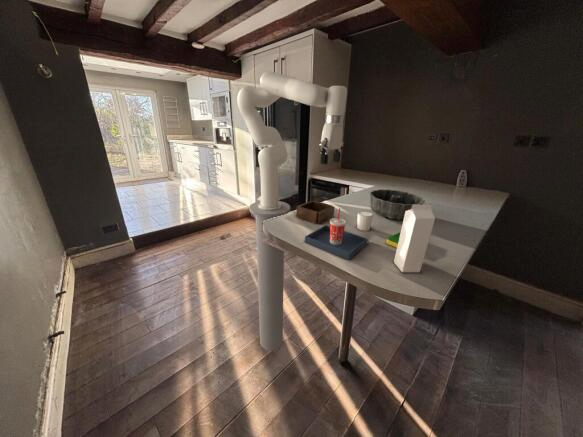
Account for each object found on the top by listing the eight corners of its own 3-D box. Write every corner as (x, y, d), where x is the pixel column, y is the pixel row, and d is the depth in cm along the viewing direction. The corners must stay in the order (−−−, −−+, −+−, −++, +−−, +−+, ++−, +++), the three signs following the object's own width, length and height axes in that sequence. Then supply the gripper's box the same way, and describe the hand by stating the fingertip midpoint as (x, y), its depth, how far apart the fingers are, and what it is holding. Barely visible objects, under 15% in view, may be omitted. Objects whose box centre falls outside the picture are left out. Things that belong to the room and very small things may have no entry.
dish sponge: (420, 241, 95) (421, 235, 94) (403, 251, 87) (404, 245, 86) (403, 234, 100) (404, 229, 99) (386, 243, 92) (387, 238, 91)
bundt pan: (420, 211, 128) (424, 193, 124) (420, 228, 107) (425, 207, 103) (371, 203, 139) (374, 186, 136) (362, 217, 118) (365, 198, 114)
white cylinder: (366, 224, 109) (368, 210, 106) (374, 230, 103) (376, 216, 100) (353, 225, 108) (355, 211, 105) (360, 231, 102) (362, 216, 99)
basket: (295, 216, 116) (295, 206, 114) (311, 209, 126) (312, 200, 124) (318, 224, 107) (319, 213, 105) (334, 216, 117) (335, 206, 115)
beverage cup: (344, 239, 93) (348, 206, 88) (343, 246, 88) (347, 212, 82) (328, 237, 94) (332, 205, 89) (326, 244, 89) (330, 210, 84)
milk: (420, 272, 74) (439, 208, 66) (401, 272, 74) (418, 208, 66) (410, 261, 80) (426, 201, 71) (393, 261, 80) (407, 201, 71)
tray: (304, 242, 91) (305, 236, 90) (325, 230, 102) (325, 224, 101) (348, 259, 80) (349, 253, 79) (366, 244, 91) (367, 238, 90)
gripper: (337, 121, 103) (333, 160, 110) (314, 119, 91) (311, 163, 97) (352, 121, 98) (347, 162, 105) (330, 120, 86) (326, 166, 93)
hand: (330, 163), depth 101 cm, fingers open, 9 cm apart
